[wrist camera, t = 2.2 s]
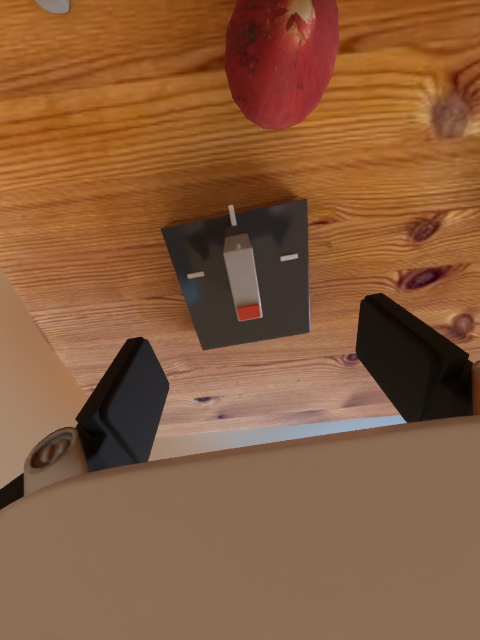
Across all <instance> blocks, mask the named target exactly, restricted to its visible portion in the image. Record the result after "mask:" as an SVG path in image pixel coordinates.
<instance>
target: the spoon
mask: <svg viewBox="0 0 480 640" xmlns="http://www.w3.org/2000/svg"><path fill="white" fill-rule="evenodd" d="M35 2H36V3H37V4H38V5H39V6H40V7H42V8H43V9H45V10H46V11H48V12H51V13H67V12H68V10H69V0H35Z"/></svg>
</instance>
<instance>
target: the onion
mask: <svg viewBox="0 0 480 640" xmlns="http://www.w3.org/2000/svg"><path fill="white" fill-rule="evenodd" d="M338 44H339V25H338V7H337V5H336V2H335V0H237V3H236V6H235V9H234V11H233V14H232V17H231V20H230V22H229V25H228V29H227V33H226V54H225V71H226V75H227V78H228V82H229V86H230V90H231V94H232V98H233V99H234V101H235V102H236V104H237V105H238V107H239V108H240V109H241V111H242V112H243V114H244V115H245V116H246V118H247V119H249V120H250V121H252V122H254V123H255V124H257V125H258V126H260V127H262V128H263V129H277V130H283V129H285V128H288V127H290V126H293V125H296V124H298V123H300V122H301V121H302V120H303V119H304V118H305V117H306V116H307V115H309V114H310V113H311V112H312V111H313V110H314V109H315V108H316V107H317V105H318V103H319V101H320V99H321V97H322V95H323V93H324V91H325V89H326V87H327V85H328V83H329V81H330V79H331V77H332V75H333V70H334V65H335V60H336V55H337V50H338Z"/></svg>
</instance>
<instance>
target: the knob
mask: <svg viewBox="0 0 480 640" xmlns="http://www.w3.org/2000/svg"><path fill="white" fill-rule="evenodd" d="M223 255H224V260H225V264H226V269H227V273H228V278H229V282H230V287H231V292H232V296H233V301H234V305H235V310H236V314H237V319H238V321H244V320H249V319H255V318H261V317H262V316H263V315H262V308H261V301H260V295H259V288H258V282H257V275H256V268H255V262H254V255H253V249H252V245H251V242H250V239H249V236H248V234H247V233H244V234H239V235H234V236H229V237H225V242H224V251H223Z"/></svg>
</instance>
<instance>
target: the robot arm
mask: <svg viewBox="0 0 480 640" xmlns="http://www.w3.org/2000/svg"><path fill="white" fill-rule="evenodd" d="M356 354H357V357H358V358H359V360H360V361H361V362H362V364H363V365H364V366H365V368H366V369H367V370H368V372H369V373H370V374H371V376H372V377H373V378H374V380H375V381H376V382H377V384H378V385H379V386H380V388H381V389H382V390H383V392H384V393H385V394H386V396H387V397H388V398H389V400H390V401H391V402H392V404H393V405H394V406H395V408H396V409H397V410H398V412H399V413H400V414H401V416H402V417H403V418H404V420H405V421H406V422H407V423H404V424H397V425H391V426H383V427H376V428H369V429H362V430H355V431H348V432H341V433H335V434H327V435H320V436H314V437H307V438H301V439H294V440H286V441H280V442H273V443H266V444H260V445H253V446H246V447H240V448H233V449H227V450H220V451H213V452H207V453H200V454H194V455H187V456H181V457H175V458H168V459H162V460H155V461H149V462H148V459H149V456H150V453H151V449H152V446H153V442H154V439H155V435H156V432H157V429H158V425H159V422H160V418H161V415H162V411H163V408H164V404H165V401H166V398H167V394H168V391H169V382H168V380H167V378H166V375H165V373H164V371H163V369H162V367H161V365H160V363H159V361H158V359H157V357H156V355H155V353H154V351H153V349H152V347H151V345H150V343H149V341H148V340H147V339H144V338H143V337H137V338H131V339H128V340H127V341H126V342H125V344H124V345H123V347H122V348H121V350H120V351H119V353H118V354H117V356H116V357H115V359H114V360H113V362H112V364H111V365H110V367H109V368H108V370H107V371H106V373H105V374H104V376H103V377H102V379H101V380H100V382H99V383H98V385H97V387H96V388H95V390H94V391H93V393H92V394H91V396H90V397H89V399H88V400H87V402H86V403H85V405H84V407H83V408H82V410H81V411H80V413H79V414H78V416H77V417H76V421H77V422H78V424H77V426H76V428H73V427H65V428H61V429H58V430H56V431H55V432H53V433H51V434H49V435H48V436H47V437H45V438H44V439H42V440H41V441H40V442H39V443H38V444H37V445H36V446H35V447H34V448H33V450H32V451H31V452H30V453H29V455H28V457H27V459H26V460H25V464H24V473H23V474H21V475H20V476H18V477H17V478H16V479H14V480H13V481H11V482H10V483H9V484H7V485H6V486H5V487H3V488H2V489H0V640H480V361H477V362H476V363H472V362H471V361H469V360H468V357H469V354H468V353H466V352H465V351H464V350H462V349H461V348H459V347H458V346H457V345H455V344H454V343H452V342H451V341H449V340H448V339H447V338H445V337H444V336H442V335H441V334H440V333H438V332H437V331H435V330H434V329H432V328H431V327H430V326H428V325H427V324H425V323H424V322H423V321H421V320H420V319H418V318H417V317H416V316H414V315H413V314H411V313H410V312H408V311H407V310H406V309H404V308H403V307H401V306H400V305H399V304H397V303H396V302H394V301H393V300H391V299H390V298H389V297H387V296H386V295H384V294H383V293H378V294H372V295H367V296H365V298H364V300H361V303H360V312H359V322H358V331H357V341H356Z"/></svg>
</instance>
